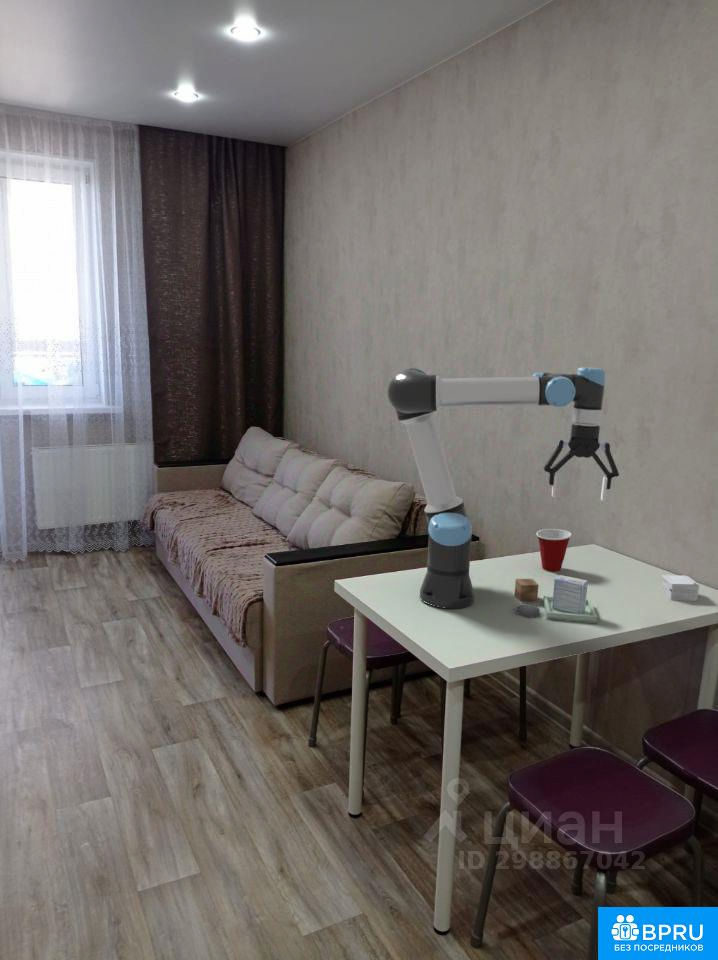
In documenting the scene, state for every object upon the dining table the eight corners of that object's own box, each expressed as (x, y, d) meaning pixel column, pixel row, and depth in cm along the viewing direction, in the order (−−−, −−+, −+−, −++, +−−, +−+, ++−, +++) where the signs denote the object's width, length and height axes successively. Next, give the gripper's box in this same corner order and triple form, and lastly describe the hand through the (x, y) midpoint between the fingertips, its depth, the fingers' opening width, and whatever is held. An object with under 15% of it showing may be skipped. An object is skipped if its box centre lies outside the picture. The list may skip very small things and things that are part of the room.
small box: (659, 591, 215) (661, 574, 214) (686, 591, 215) (688, 575, 214) (670, 600, 207) (672, 583, 206) (697, 601, 207) (700, 584, 206)
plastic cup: (527, 563, 236) (530, 528, 234) (558, 562, 238) (562, 527, 236) (542, 575, 226) (545, 537, 223) (574, 573, 228) (577, 537, 225)
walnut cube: (519, 601, 203) (521, 585, 202) (514, 595, 208) (515, 578, 207) (537, 601, 204) (538, 584, 202) (531, 595, 208) (532, 578, 207)
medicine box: (585, 610, 196) (588, 580, 194) (580, 616, 192) (583, 584, 190) (556, 604, 200) (559, 574, 198) (551, 609, 196) (554, 578, 195)
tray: (546, 619, 191) (547, 612, 191) (543, 601, 203) (543, 595, 203) (596, 623, 189) (597, 616, 189) (589, 605, 201) (590, 599, 201)
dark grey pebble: (516, 617, 193) (517, 611, 192) (515, 608, 199) (516, 603, 198) (540, 619, 192) (540, 613, 192) (538, 610, 198) (538, 605, 197)
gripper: (629, 425, 204) (621, 498, 208) (538, 419, 207) (532, 492, 211) (635, 428, 196) (626, 504, 201) (541, 422, 200) (534, 497, 204)
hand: (577, 498), depth 206 cm, fingers open, 13 cm apart
